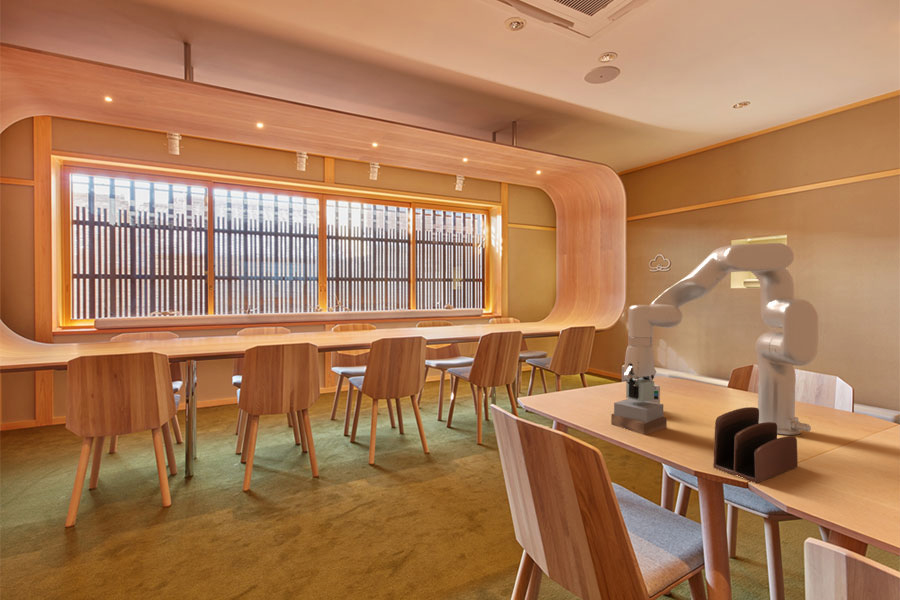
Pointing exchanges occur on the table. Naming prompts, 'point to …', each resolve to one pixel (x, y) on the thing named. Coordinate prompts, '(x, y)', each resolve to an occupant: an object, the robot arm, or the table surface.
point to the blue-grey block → (643, 390)
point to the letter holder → (751, 446)
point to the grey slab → (638, 410)
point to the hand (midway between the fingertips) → (640, 396)
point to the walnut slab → (639, 424)
